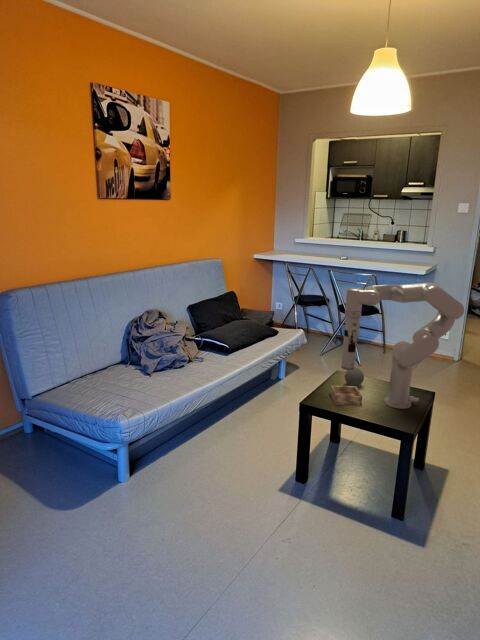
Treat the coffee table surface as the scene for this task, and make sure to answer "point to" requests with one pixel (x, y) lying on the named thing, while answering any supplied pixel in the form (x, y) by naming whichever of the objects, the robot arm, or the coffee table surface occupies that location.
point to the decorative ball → (354, 377)
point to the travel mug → (348, 354)
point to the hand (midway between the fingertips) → (349, 349)
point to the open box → (346, 395)
